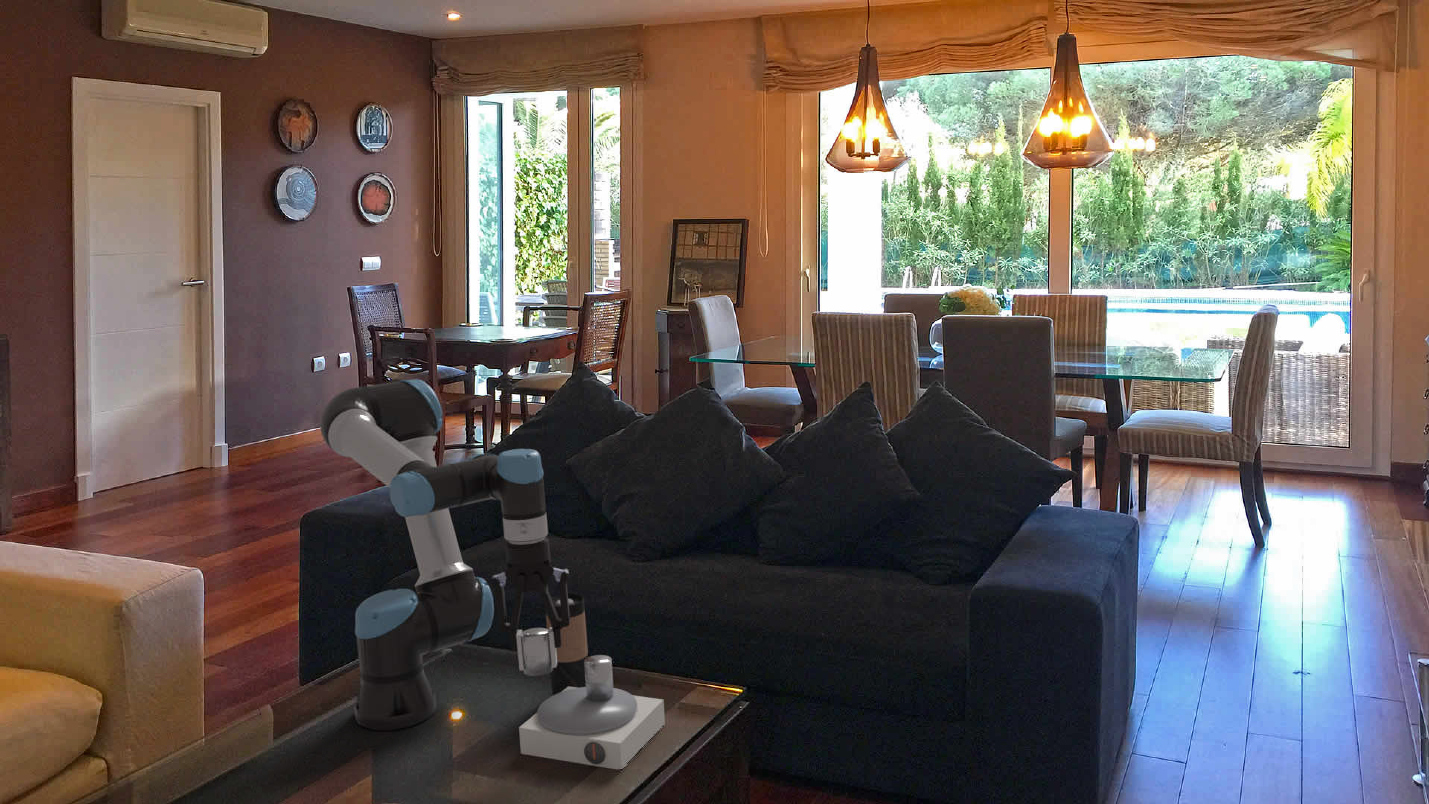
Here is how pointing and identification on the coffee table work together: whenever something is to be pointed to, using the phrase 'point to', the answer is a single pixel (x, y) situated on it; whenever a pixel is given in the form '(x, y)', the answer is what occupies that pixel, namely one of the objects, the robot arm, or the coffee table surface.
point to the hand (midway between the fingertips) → (538, 665)
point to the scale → (592, 728)
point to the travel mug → (570, 646)
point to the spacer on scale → (599, 678)
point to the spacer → (536, 651)
